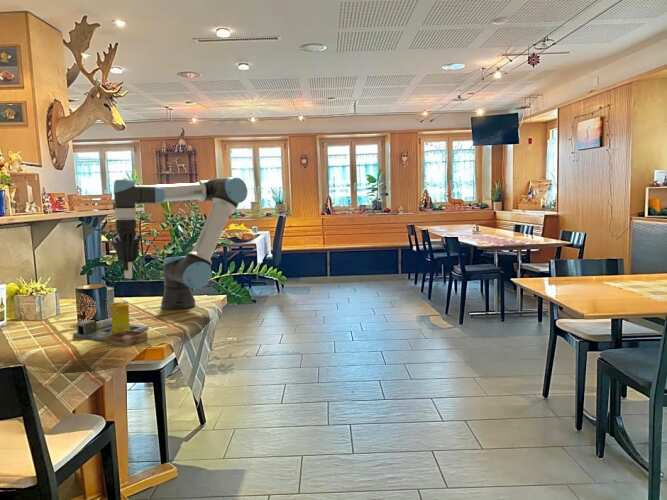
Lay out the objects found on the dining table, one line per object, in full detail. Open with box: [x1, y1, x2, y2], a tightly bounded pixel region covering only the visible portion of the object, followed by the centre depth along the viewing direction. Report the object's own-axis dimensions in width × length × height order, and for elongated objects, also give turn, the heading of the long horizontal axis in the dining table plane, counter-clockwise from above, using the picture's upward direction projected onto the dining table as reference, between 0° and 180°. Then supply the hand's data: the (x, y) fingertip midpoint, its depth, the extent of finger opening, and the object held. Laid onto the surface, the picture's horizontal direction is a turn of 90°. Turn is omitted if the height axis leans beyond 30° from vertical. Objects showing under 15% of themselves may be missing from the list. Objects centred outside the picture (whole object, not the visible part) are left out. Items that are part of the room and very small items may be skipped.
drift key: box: [96, 318, 112, 328], centre depth 189 cm, size 14×3×3 cm, turn 156°
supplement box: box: [111, 301, 131, 333], centre depth 185 cm, size 6×6×11 cm
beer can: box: [106, 286, 115, 318], centre depth 208 cm, size 10×10×12 cm
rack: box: [104, 329, 148, 348], centre depth 173 cm, size 10×10×3 cm
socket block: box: [72, 319, 149, 342], centre depth 184 cm, size 18×18×5 cm
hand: (128, 278), depth 199 cm, fingers closed
